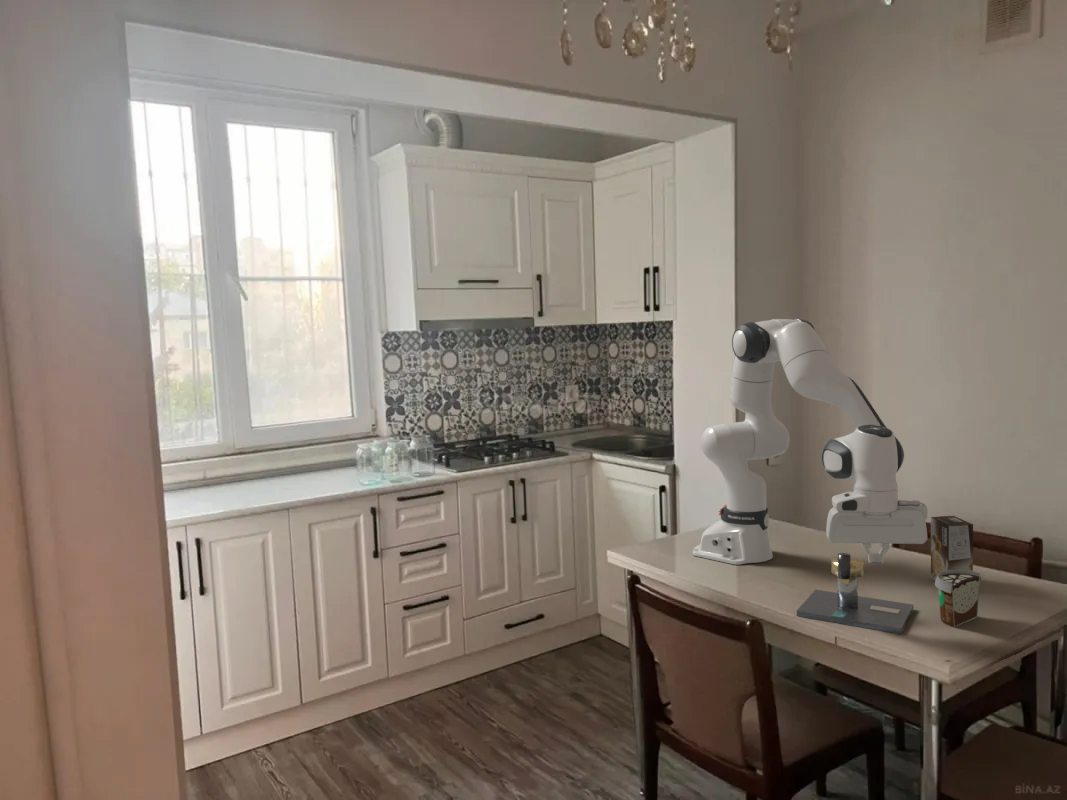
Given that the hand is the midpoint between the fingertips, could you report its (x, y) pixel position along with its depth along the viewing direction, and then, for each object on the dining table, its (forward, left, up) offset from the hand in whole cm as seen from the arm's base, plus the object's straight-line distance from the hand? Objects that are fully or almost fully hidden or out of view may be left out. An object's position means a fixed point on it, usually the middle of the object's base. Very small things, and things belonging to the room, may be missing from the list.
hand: (875, 562), depth 171 cm
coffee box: (+11, +36, -14) cm, 40 cm away
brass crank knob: (-7, +3, -5) cm, 9 cm away
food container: (+14, +11, -14) cm, 23 cm away
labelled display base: (-5, +4, -14) cm, 16 cm away
